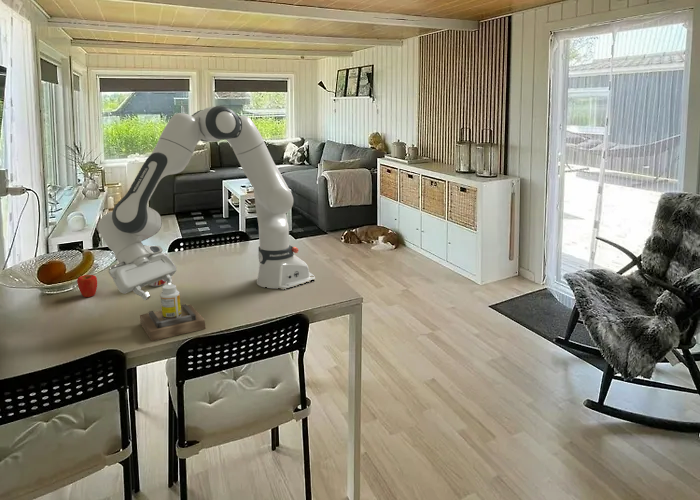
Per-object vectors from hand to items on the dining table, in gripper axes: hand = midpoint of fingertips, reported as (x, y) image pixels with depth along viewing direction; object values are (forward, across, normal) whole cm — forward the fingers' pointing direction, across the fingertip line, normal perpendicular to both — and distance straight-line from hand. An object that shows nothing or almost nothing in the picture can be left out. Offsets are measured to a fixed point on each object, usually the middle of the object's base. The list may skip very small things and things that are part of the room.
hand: (160, 293), depth 161 cm
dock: (+10, 0, +4) cm, 11 cm away
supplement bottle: (+8, 0, +2) cm, 8 cm away
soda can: (-13, +23, +28) cm, 38 cm away
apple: (-21, +4, +36) cm, 42 cm away
